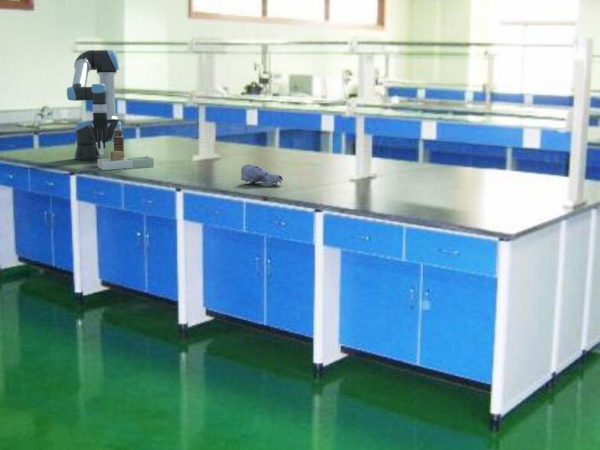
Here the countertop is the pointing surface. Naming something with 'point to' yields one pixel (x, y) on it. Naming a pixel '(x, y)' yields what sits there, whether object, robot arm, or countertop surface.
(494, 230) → the countertop surface
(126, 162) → the lane box
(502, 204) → the countertop surface
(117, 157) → the walnut block
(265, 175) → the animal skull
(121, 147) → the miniature building
